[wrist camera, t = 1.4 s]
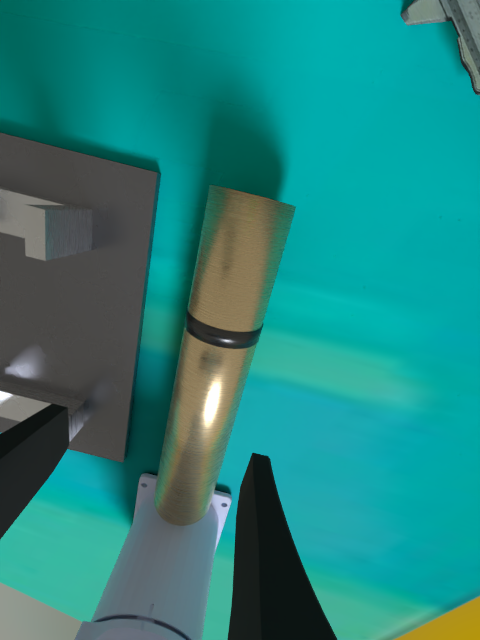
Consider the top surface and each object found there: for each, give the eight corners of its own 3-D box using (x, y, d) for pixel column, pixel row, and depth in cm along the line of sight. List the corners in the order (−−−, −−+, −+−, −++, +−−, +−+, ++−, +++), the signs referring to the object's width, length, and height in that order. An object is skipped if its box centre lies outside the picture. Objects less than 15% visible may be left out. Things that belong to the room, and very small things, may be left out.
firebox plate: (126, 456, 25) (97, 508, 20) (-48, 413, 25) (-114, 457, 20) (160, 173, 17) (124, 161, 12) (-97, 108, 17) (-222, 73, 12)
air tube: (203, 467, 25) (218, 518, 22) (150, 475, 24) (156, 533, 20) (272, 202, 17) (314, 211, 14) (199, 182, 16) (225, 187, 12)
